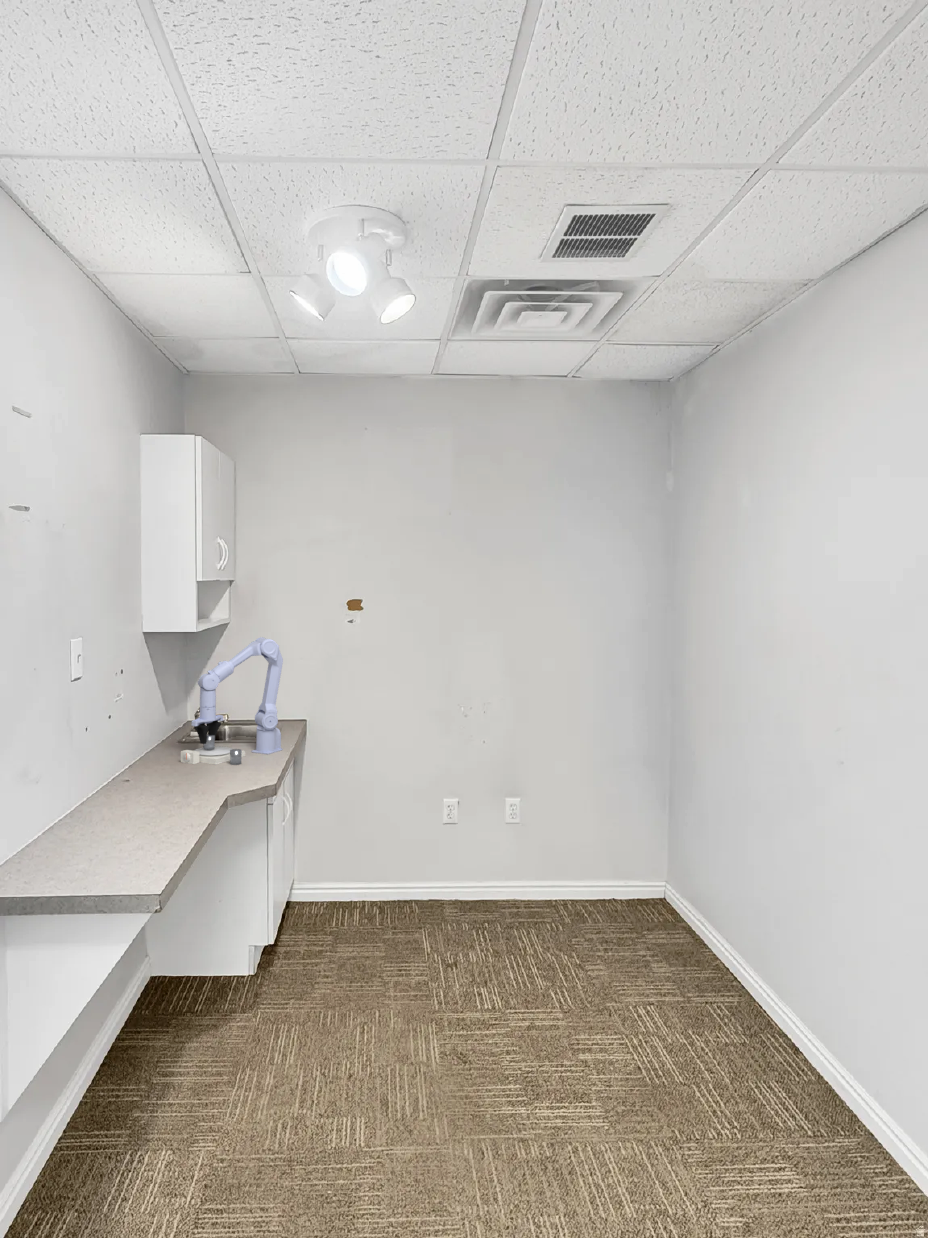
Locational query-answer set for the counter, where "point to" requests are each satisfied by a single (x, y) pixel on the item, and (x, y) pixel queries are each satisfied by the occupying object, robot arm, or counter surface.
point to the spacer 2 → (235, 756)
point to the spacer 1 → (209, 742)
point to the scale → (207, 755)
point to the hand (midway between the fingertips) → (207, 742)
